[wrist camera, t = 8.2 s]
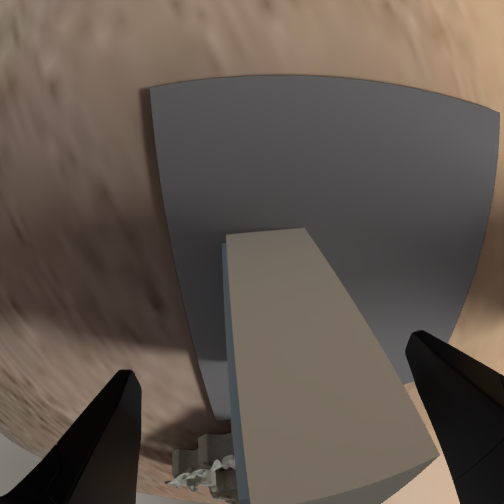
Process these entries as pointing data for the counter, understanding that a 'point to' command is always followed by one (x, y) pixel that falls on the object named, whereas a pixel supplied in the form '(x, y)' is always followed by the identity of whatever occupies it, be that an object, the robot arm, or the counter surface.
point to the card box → (310, 382)
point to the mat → (327, 196)
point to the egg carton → (208, 467)
